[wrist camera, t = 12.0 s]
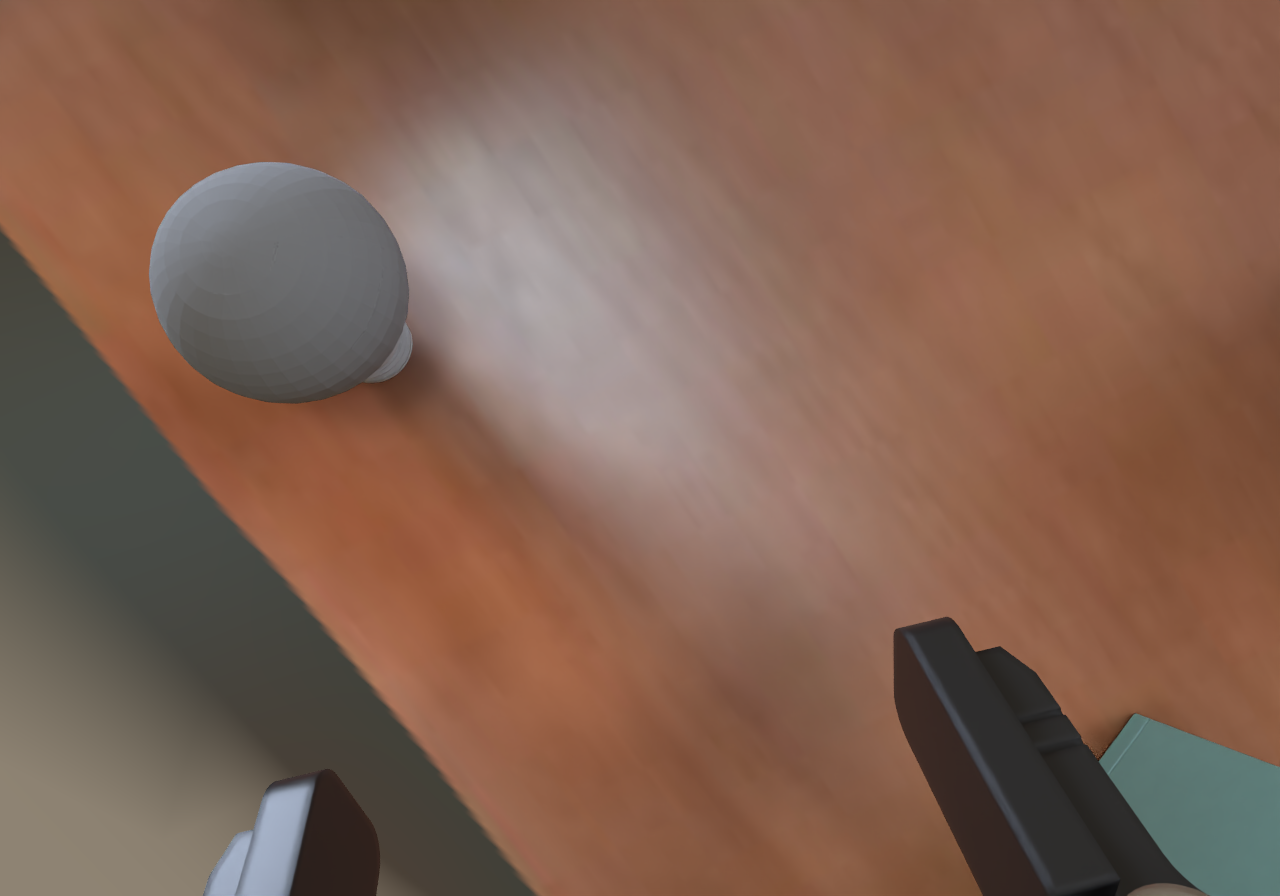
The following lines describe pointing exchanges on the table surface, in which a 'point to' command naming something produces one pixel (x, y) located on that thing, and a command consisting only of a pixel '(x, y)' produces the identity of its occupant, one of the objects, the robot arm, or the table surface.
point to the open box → (1202, 806)
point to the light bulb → (281, 284)
